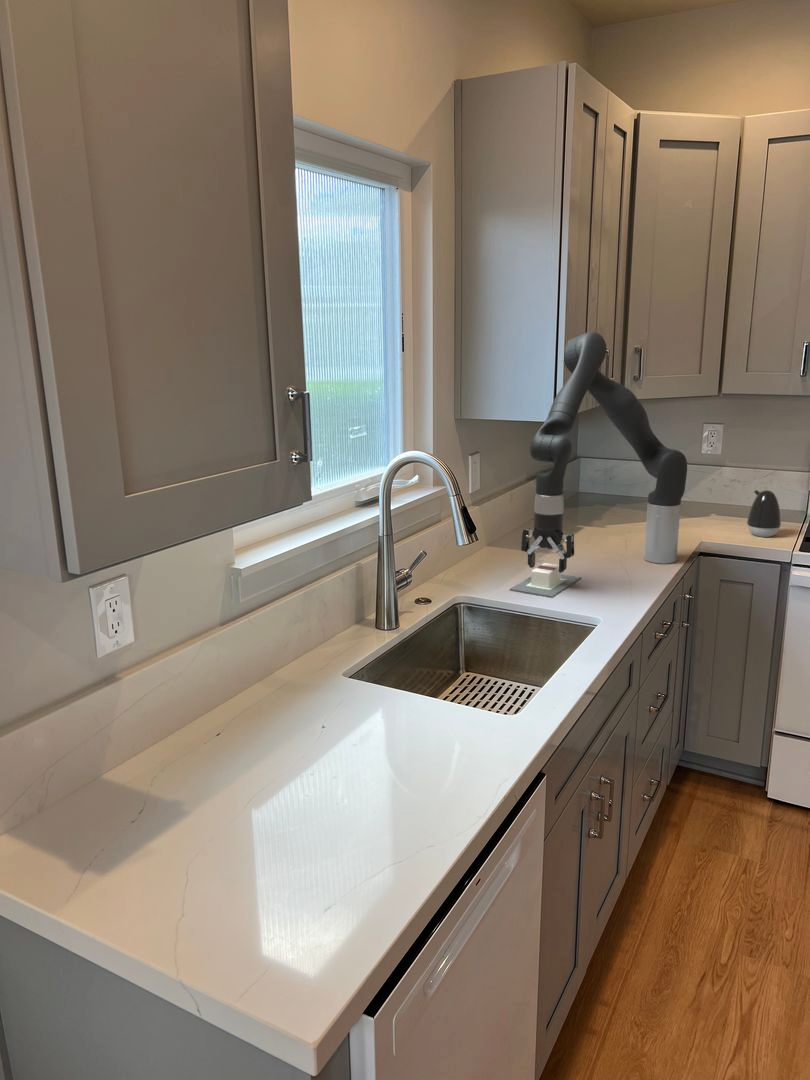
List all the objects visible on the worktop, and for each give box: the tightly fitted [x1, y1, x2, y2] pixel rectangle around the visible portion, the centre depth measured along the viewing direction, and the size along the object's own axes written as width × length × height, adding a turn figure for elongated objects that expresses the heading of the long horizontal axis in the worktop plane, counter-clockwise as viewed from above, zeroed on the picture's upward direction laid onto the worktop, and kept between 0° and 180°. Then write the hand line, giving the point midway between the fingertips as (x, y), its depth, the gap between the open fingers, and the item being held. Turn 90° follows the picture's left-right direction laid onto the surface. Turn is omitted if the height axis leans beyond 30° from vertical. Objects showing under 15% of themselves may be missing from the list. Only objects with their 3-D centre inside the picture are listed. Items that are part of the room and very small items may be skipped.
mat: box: [509, 573, 582, 598], centre depth 215 cm, size 20×12×1 cm, turn 147°
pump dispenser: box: [746, 489, 782, 538], centre depth 263 cm, size 10×10×15 cm
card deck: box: [530, 562, 562, 588], centre depth 214 cm, size 5×9×4 cm, turn 149°
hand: (546, 569), depth 214 cm, fingers open, 8 cm apart
